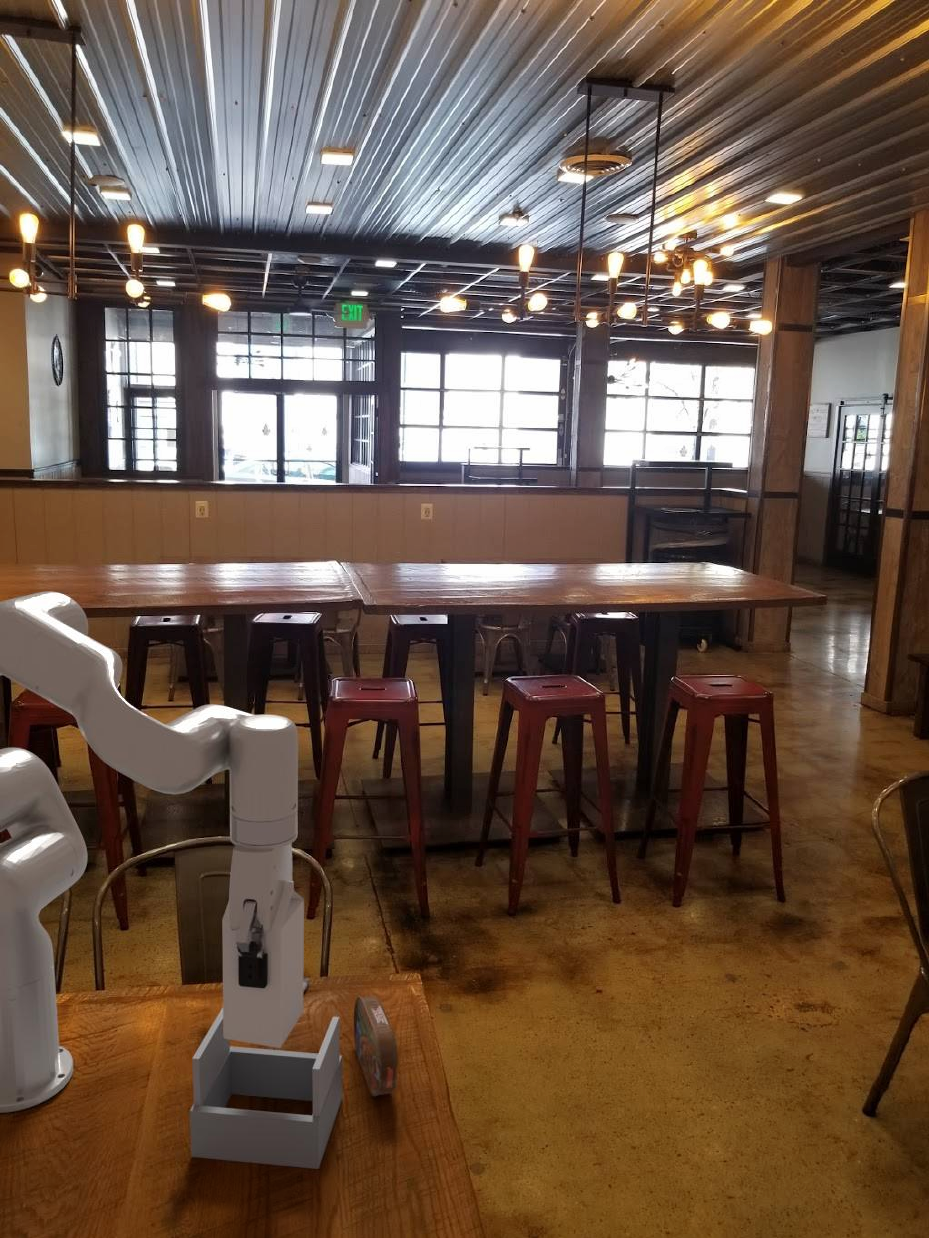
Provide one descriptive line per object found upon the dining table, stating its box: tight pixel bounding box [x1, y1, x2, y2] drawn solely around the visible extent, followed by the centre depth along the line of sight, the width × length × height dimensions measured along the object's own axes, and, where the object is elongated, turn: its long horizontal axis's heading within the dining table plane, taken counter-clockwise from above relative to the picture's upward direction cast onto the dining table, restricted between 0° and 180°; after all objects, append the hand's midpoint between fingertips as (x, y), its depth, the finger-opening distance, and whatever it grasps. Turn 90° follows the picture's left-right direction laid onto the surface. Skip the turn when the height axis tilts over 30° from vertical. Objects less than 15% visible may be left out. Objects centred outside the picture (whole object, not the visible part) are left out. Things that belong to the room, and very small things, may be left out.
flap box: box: [189, 1007, 343, 1170], centre depth 115 cm, size 15×12×12 cm
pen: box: [303, 977, 310, 993], centre depth 140 cm, size 1×14×1 cm, turn 169°
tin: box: [353, 995, 399, 1097], centre depth 126 cm, size 15×3×8 cm, turn 18°
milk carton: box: [221, 880, 305, 1049], centre depth 112 cm, size 7×7×19 cm
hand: (264, 965), depth 112 cm, fingers closed on milk carton, 7 cm apart
